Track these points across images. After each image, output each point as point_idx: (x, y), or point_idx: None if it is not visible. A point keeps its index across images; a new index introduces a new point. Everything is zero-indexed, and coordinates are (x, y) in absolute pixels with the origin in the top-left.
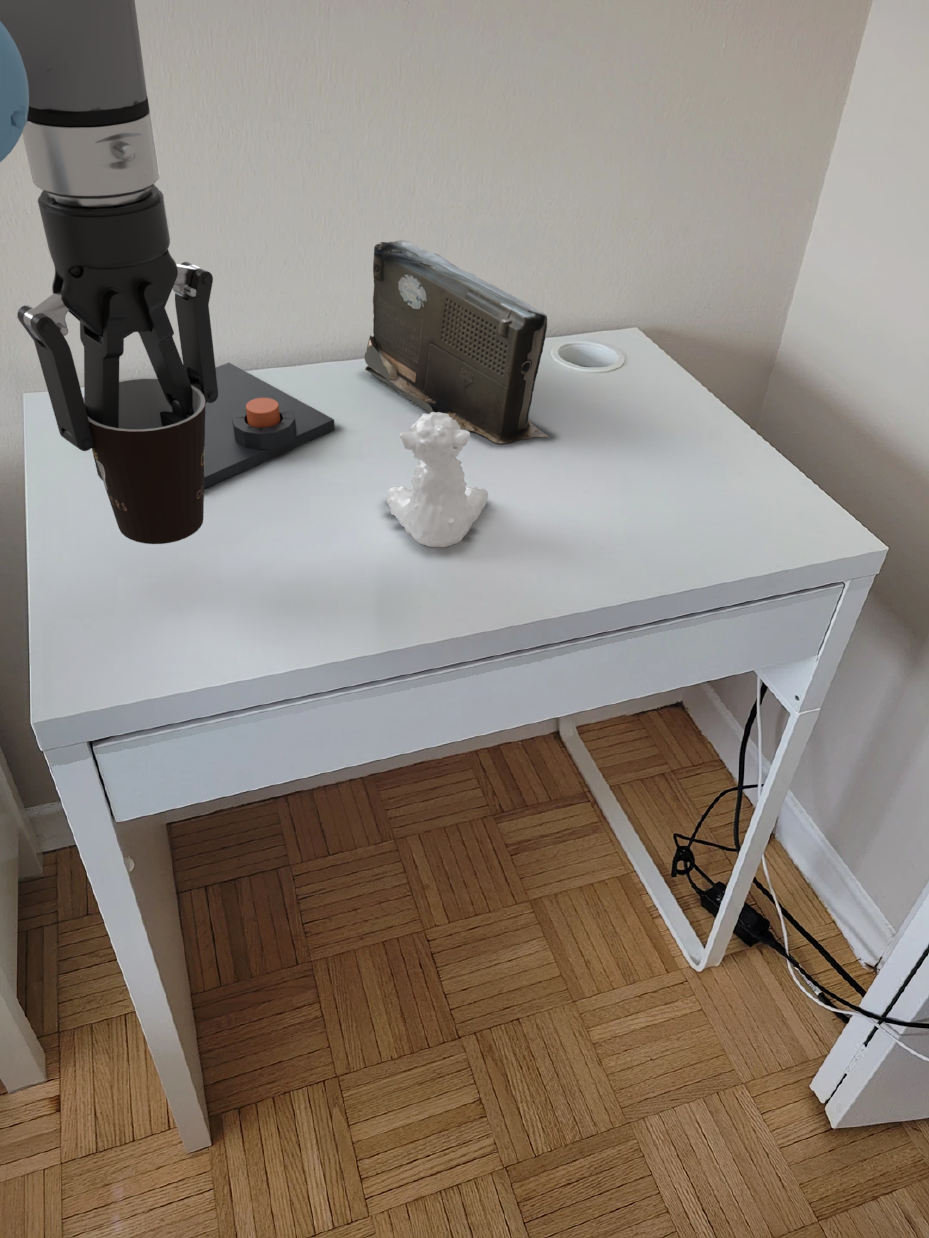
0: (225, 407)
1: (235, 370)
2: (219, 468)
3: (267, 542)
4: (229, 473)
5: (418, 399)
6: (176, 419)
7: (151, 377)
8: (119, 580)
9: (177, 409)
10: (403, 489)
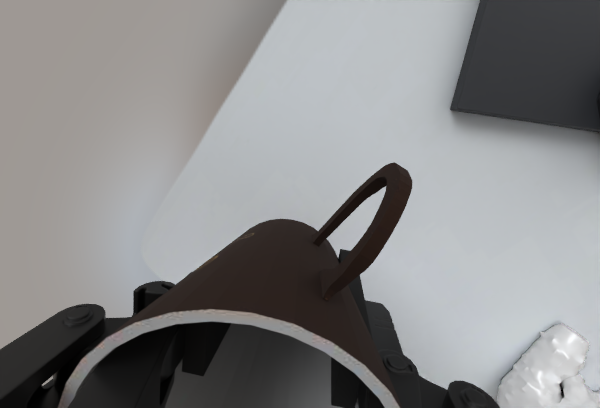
0: None
1: None
2: (518, 112)
3: (417, 253)
4: (522, 119)
5: None
6: (347, 381)
7: (379, 381)
8: (276, 173)
9: (364, 393)
10: (577, 364)
